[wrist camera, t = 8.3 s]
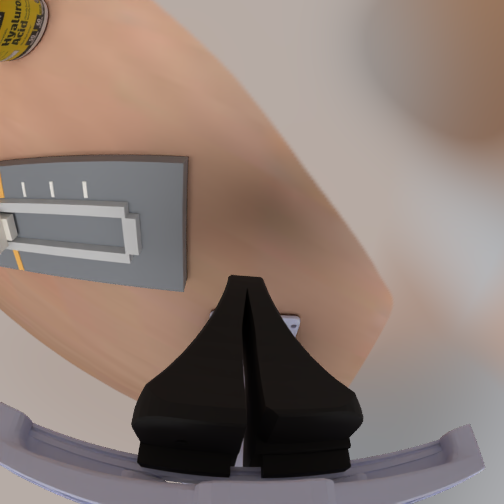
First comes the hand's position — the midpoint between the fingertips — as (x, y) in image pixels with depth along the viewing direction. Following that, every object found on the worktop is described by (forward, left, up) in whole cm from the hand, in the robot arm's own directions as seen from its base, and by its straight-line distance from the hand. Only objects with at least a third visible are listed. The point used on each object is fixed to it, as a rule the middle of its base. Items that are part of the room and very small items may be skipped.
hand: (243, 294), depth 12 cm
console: (-2, +15, -9) cm, 18 cm away
